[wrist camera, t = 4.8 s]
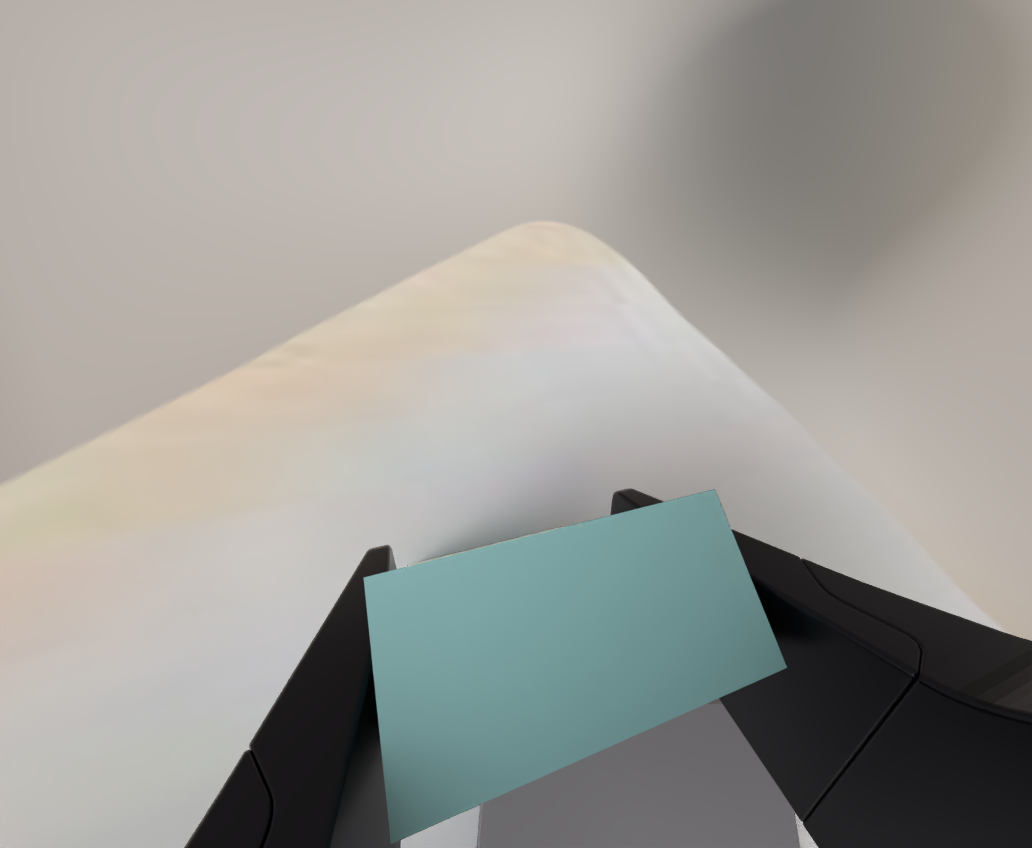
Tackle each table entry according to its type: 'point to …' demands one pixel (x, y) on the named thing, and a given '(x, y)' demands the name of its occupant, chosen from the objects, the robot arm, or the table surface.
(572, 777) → the felt mat
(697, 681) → the box
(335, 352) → the table surface
